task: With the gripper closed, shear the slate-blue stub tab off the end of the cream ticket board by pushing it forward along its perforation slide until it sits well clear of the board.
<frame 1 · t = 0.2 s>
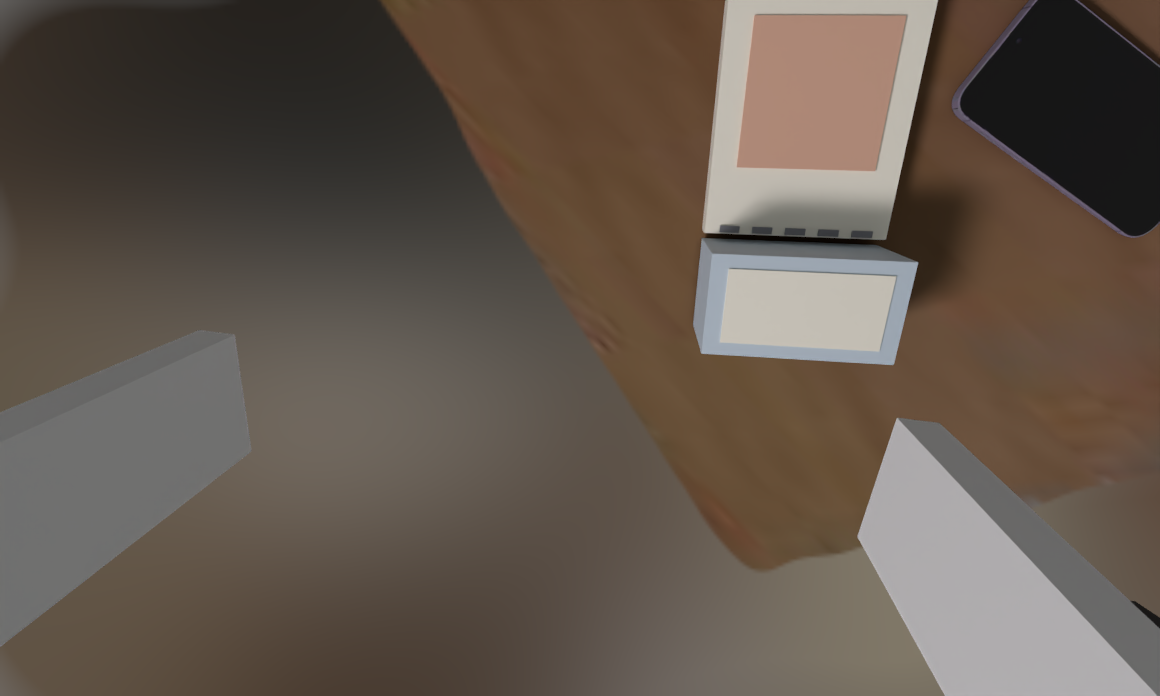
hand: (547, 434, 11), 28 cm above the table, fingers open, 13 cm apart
smartphone: (1082, 122, 32), on the table
stub: (791, 297, 34), point 3 cm above the table, slide at 0.0 cm
ticket board: (804, 125, 33), on the table
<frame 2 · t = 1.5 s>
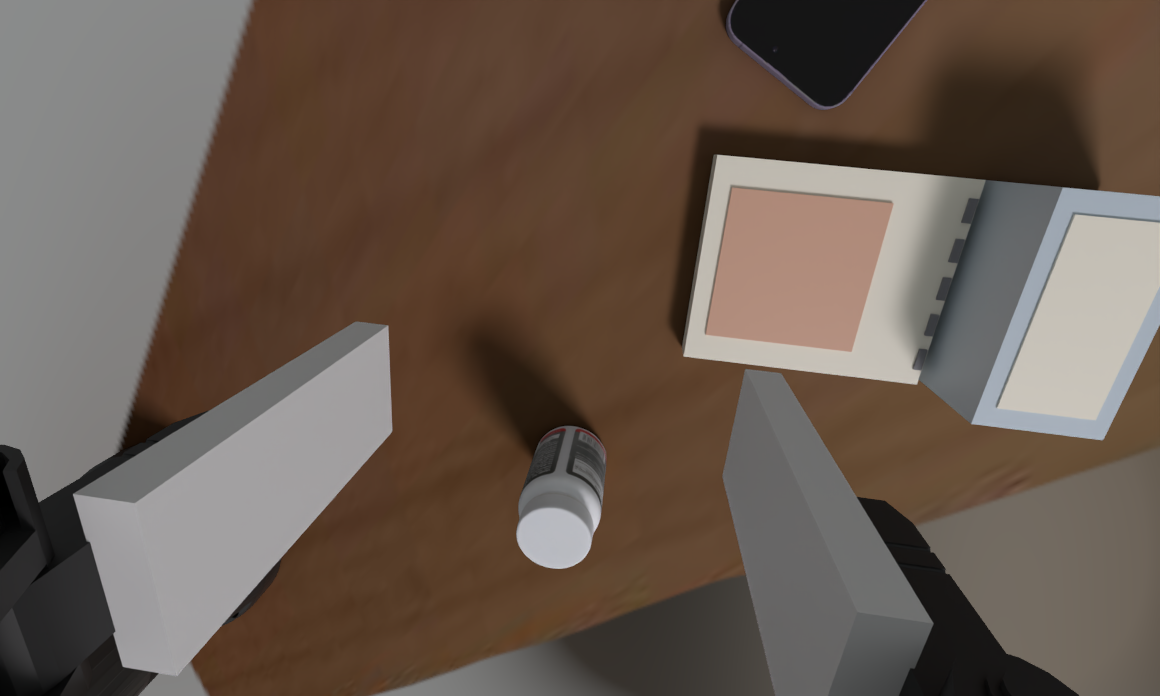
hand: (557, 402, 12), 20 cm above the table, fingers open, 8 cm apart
pill bottle: (572, 453, 36), on the table
stub: (1041, 305, 27), point 3 cm above the table, slide at 0.0 cm
ticket board: (813, 269, 30), on the table
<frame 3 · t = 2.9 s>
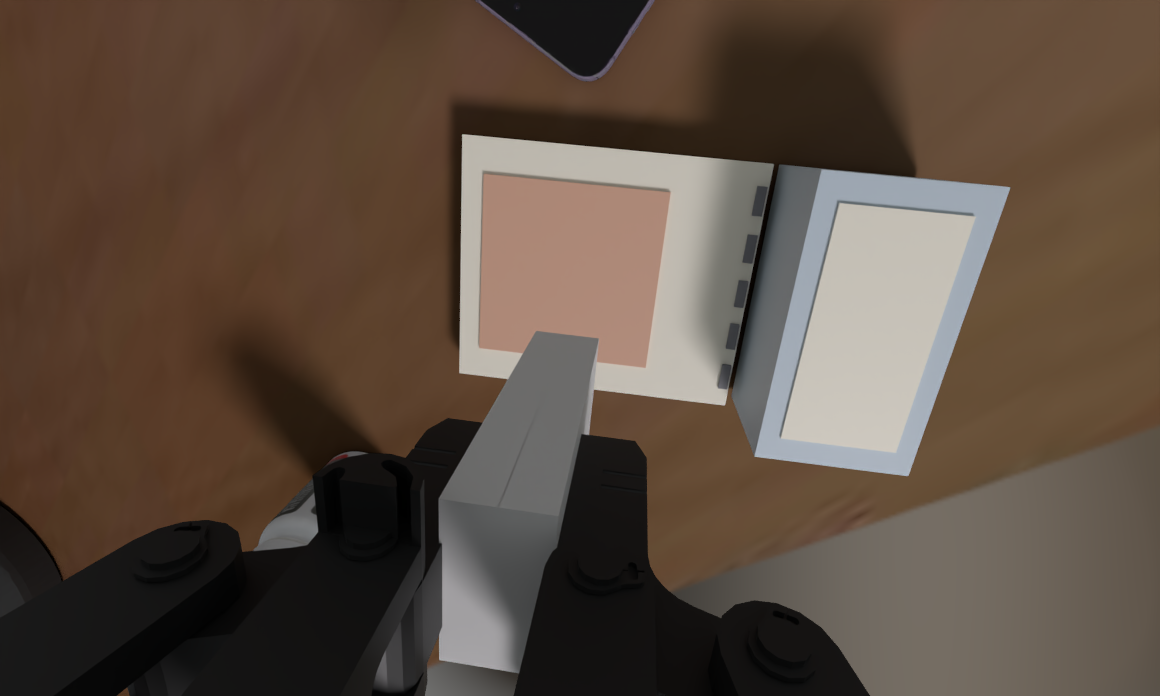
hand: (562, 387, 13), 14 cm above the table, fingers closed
pill bottle: (366, 482, 32), on the table
stub: (841, 314, 22), point 3 cm above the table, slide at 0.0 cm
ticket board: (603, 271, 26), on the table
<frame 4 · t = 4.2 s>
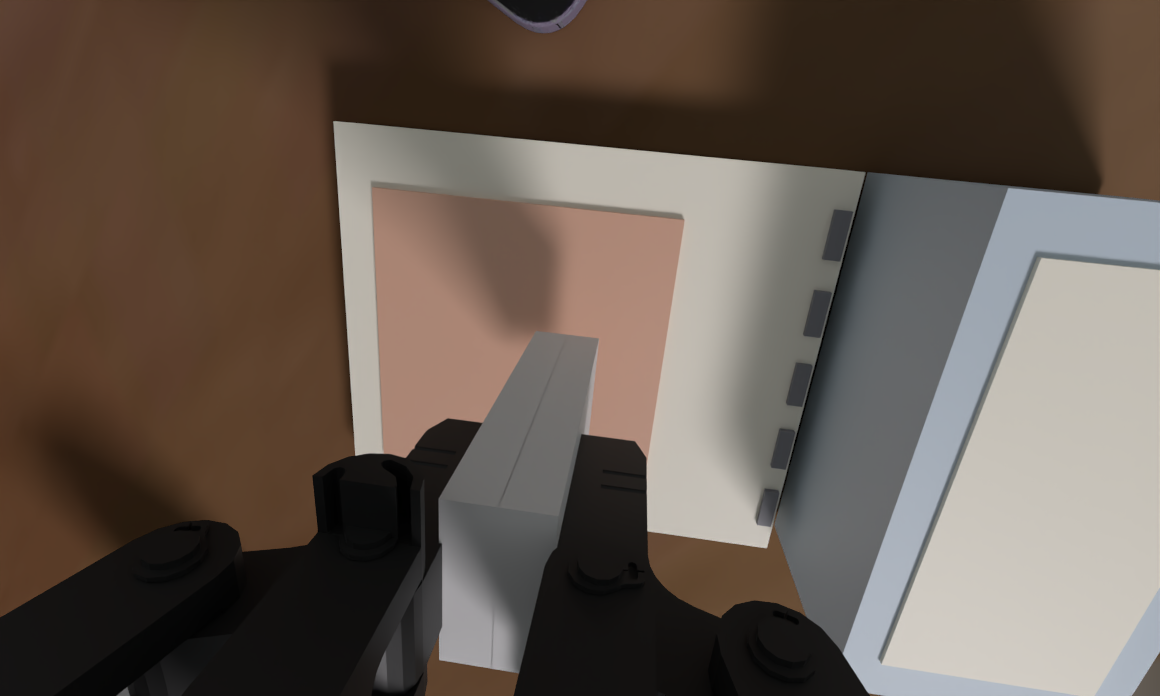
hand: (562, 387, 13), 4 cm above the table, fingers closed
stub: (981, 433, 13), point 3 cm above the table, slide at 0.0 cm
ticket board: (577, 338, 17), on the table
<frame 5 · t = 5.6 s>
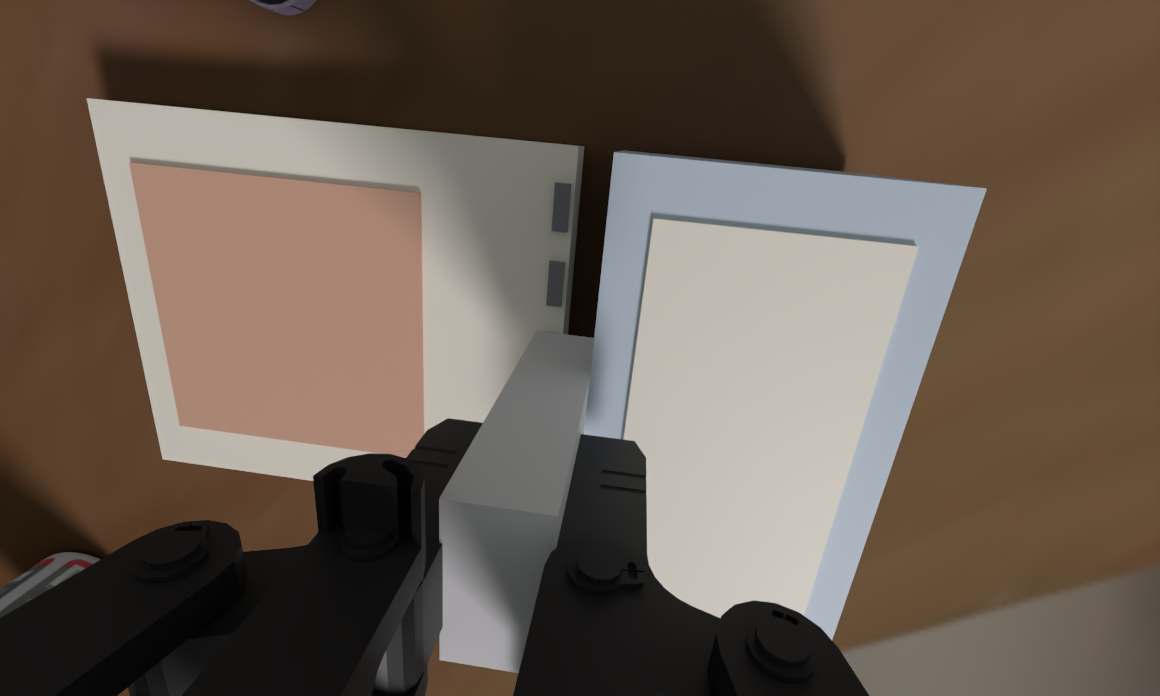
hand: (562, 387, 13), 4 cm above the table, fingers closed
pill bottle: (99, 589, 23), on the table
stub: (714, 398, 13), point 3 cm above the table, slide at 0.6 cm, touching gripper
ticket board: (363, 311, 17), on the table
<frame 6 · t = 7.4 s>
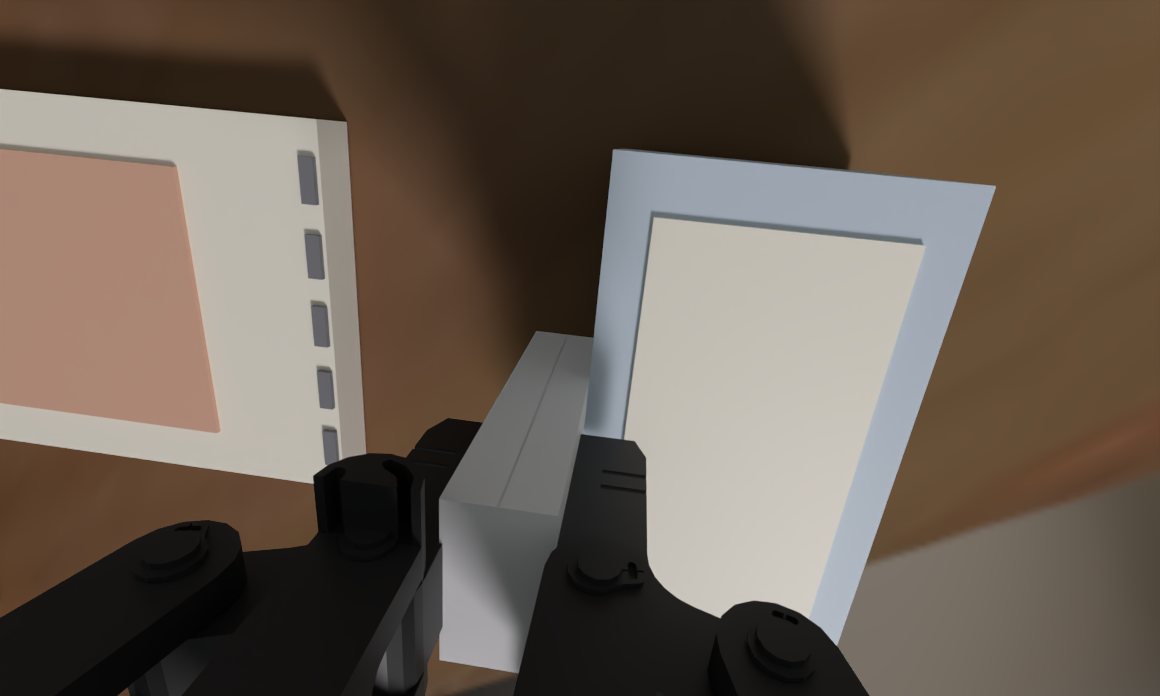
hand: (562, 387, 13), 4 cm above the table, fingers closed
stub: (716, 400, 13), point 3 cm above the table, slide at 7.2 cm, touching gripper
ticket board: (162, 288, 17), on the table
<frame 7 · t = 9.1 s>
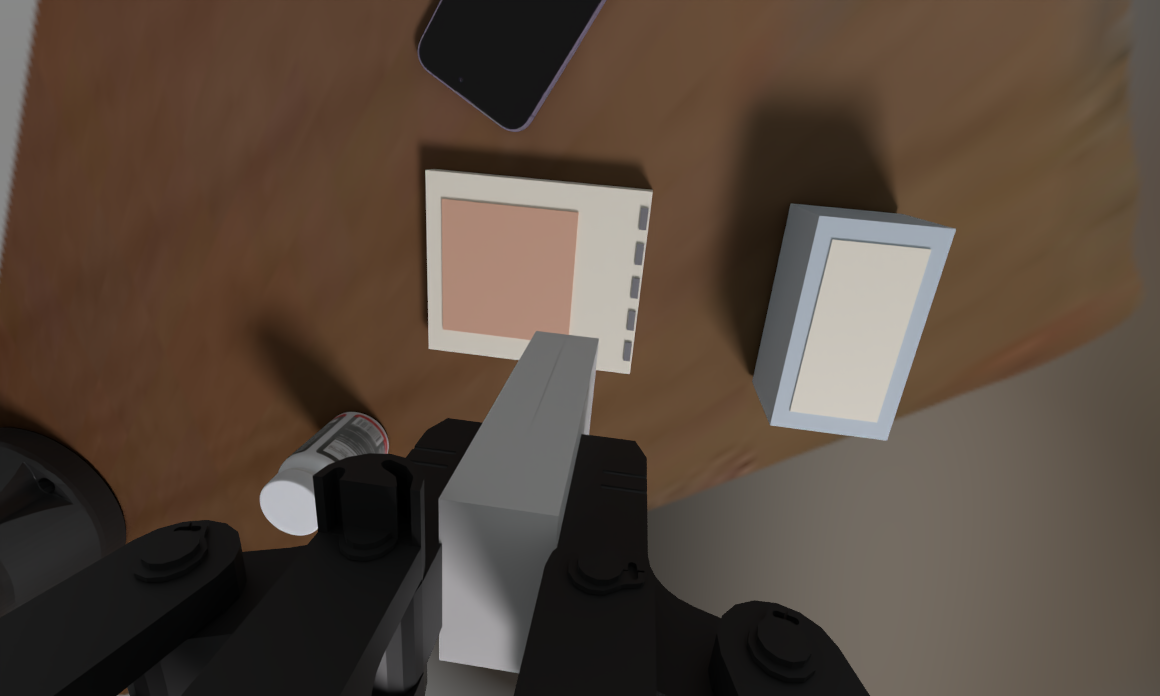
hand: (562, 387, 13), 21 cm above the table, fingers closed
pill bottle: (361, 437, 40), on the table
stub: (837, 318, 29), point 3 cm above the table, slide at 7.2 cm
ticket board: (536, 271, 34), on the table
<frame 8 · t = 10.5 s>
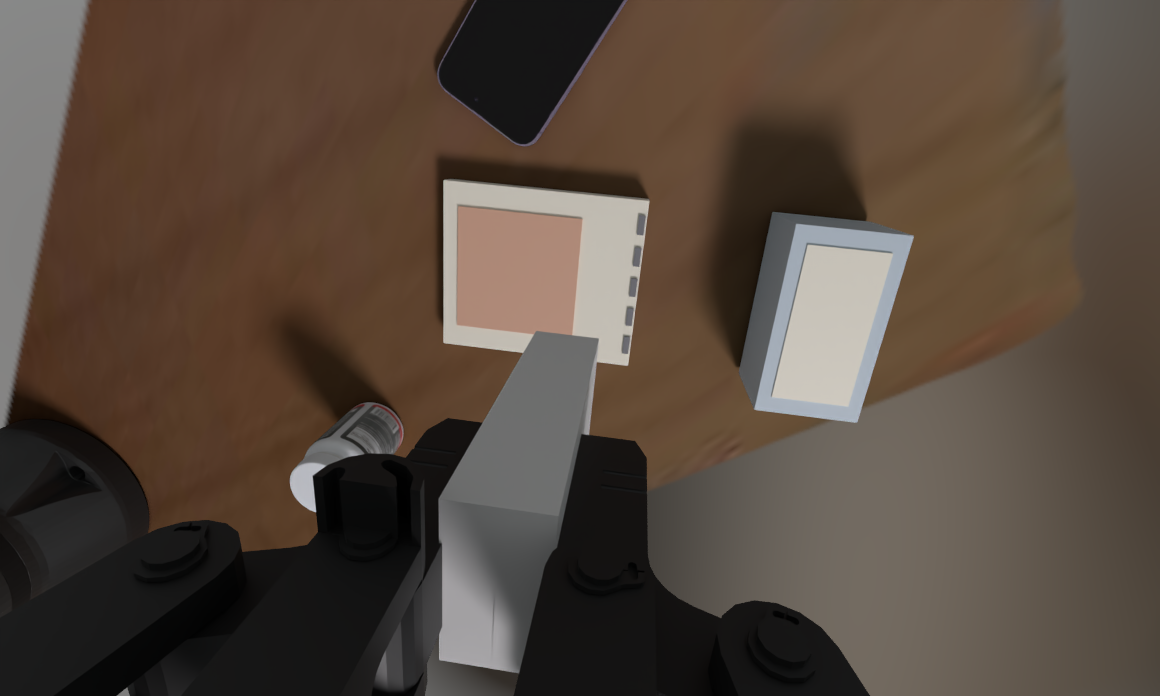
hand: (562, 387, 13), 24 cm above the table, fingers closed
pill bottle: (377, 426, 43), on the table
smartphone: (551, 7, 32), on the table
stub: (813, 314, 33), point 3 cm above the table, slide at 7.2 cm
ticket board: (543, 271, 37), on the table
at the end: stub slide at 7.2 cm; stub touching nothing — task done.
